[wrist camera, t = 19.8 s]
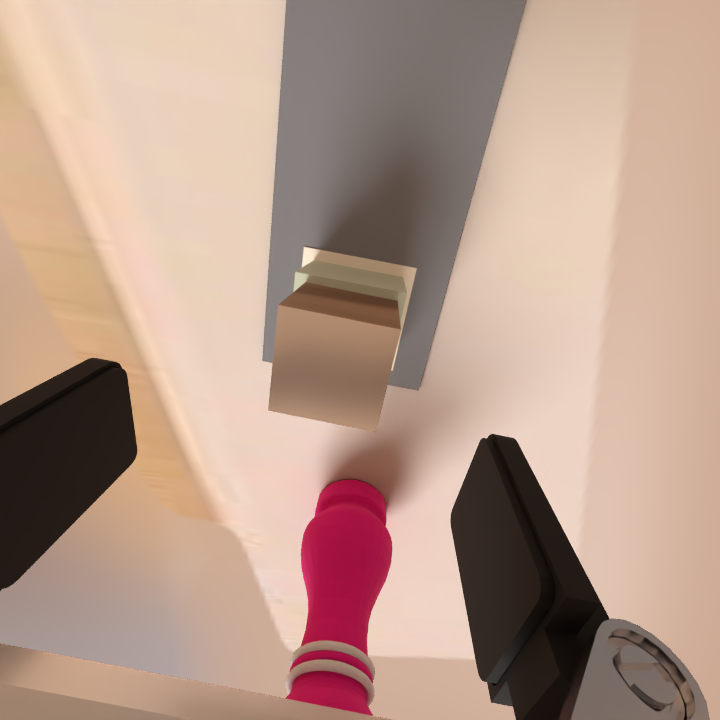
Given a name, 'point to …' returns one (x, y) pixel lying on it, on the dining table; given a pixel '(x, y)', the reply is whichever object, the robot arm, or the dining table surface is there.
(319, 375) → the walnut cube
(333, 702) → the pepper mill
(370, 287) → the sage block
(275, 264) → the build mat
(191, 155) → the dining table surface
